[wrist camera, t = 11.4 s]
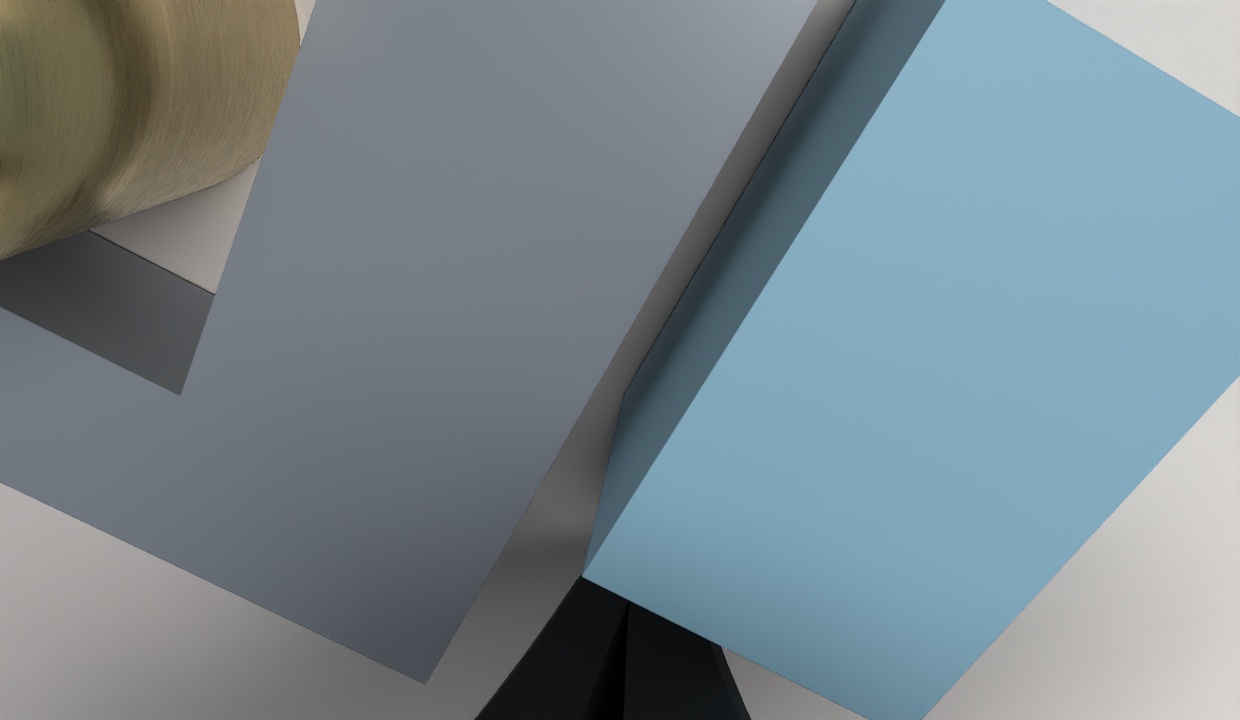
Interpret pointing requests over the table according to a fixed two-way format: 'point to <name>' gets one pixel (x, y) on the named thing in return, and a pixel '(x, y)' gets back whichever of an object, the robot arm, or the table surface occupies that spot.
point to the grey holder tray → (386, 304)
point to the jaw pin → (130, 105)
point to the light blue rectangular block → (928, 349)
